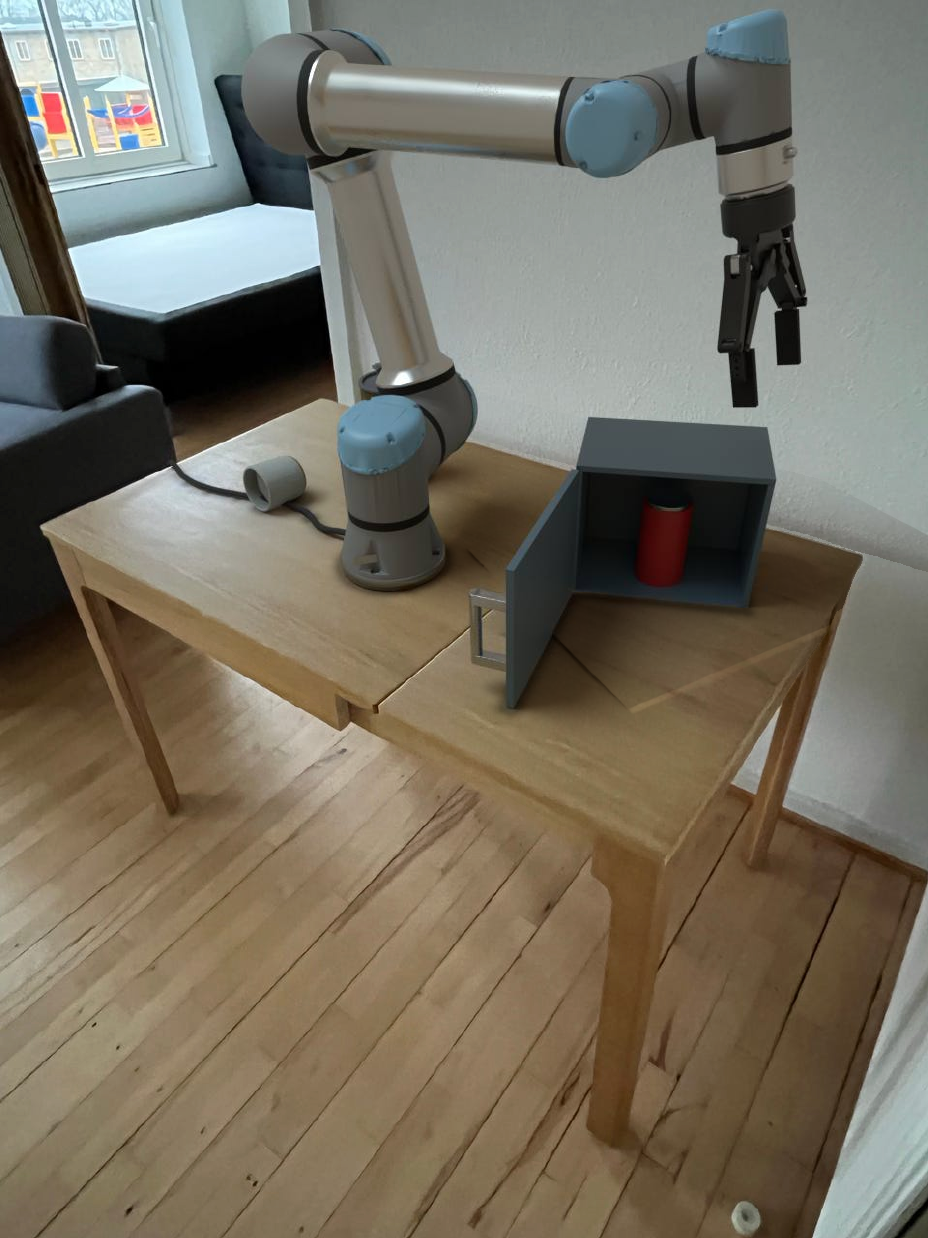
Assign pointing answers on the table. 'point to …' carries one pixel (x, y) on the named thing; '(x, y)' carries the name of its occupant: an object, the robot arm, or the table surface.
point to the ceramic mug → (274, 482)
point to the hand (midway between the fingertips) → (768, 384)
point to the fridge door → (531, 592)
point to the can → (663, 536)
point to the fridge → (683, 458)
